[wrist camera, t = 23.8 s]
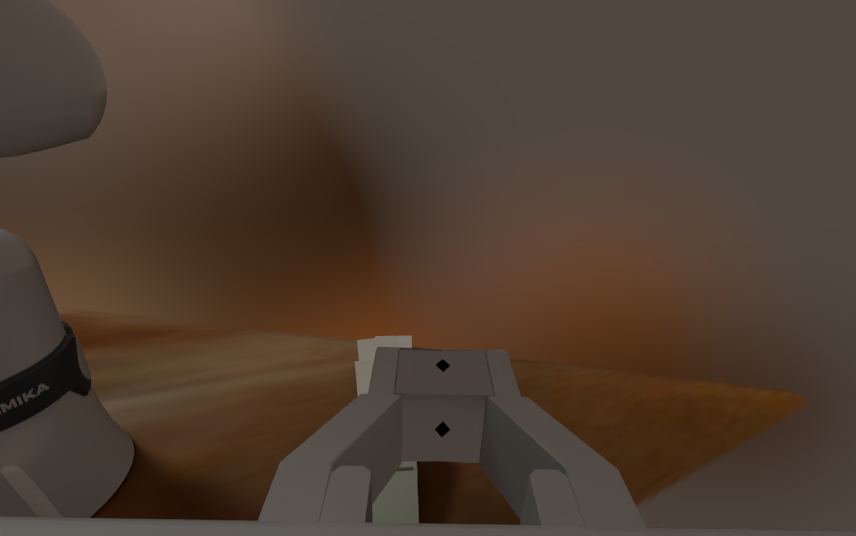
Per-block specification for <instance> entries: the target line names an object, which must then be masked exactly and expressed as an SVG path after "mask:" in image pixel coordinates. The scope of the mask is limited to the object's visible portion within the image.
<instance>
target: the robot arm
mask: <svg viewBox="0 0 856 536" xmlns="http://www.w3.org/2000/svg"><path fill="white" fill-rule="evenodd" d="M106 100H107V86H106V80H105V76H104V72H103V69H102V66H101V63H100V61H99V58H98V56H97V54H96V52H95V50H94V49H93V47H92V45H91V44H90V42H89V41H88V39H87V38H86V37H85V35H84V34H83V33H82V31H81V30H80V29H79V28H78V27H77V26H76V24H74V22H73V21H72V20H71V19H70V18H69V17H68V16H67V15H66V14H65V13H64V12H63V11H62V10H60V9H59V8H58V7H57V6H55V5H54V4H53V3H51V2H50V1H49V0H0V158H4V157H17V156H21V155H26V154H30V153H34V152H38V151H43V150H47V149H51V148H55V147H58V146H62V145H66V144H70V143H73V142H77V141H81V140H84V139H87V138H89V137H90V136H91V135H92V134H93V133H94V131H95V130H96V128H97V127H98V125H99V124H100V122H101V119H102V117H103V115H104V111H105V107H106ZM133 457H134V445H133V442H132V439H131V438H130V436H129V435H128V434H127V433H126V432H125V431H124V430H123V429H122V428H120V426H119V425H118V424H117V423H116V422H115V421H114V420H113V419H112V418H111V416H110V415H109V414H108V412H107V411H106V410H105V408H104V407H103V405H102V404H101V402H100V401H99V399H98V398H97V396H96V394H95V393H94V391H93V389H92V387H91V373H90V370H89V367H88V364H87V361H86V359H85V356H84V353H83V351H82V348H81V346H80V343H79V341H78V339H77V338H75V336H74V333H73V331H72V329H71V327H70V326H69V325H68V324H67V323H65V322H64V321H61V319H60V316H59V314H58V311H57V309H56V306H55V303H54V301H53V298H52V296H51V293H50V291H49V288H48V286H47V283H46V281H45V278H44V275H43V273H42V270H41V268H40V265H39V263H38V260H37V257H36V256H35V253H34V252H33V251H32V249H31V248H30V247H29V246H28V245H27V244H26V243H25V242H24V241H22V240H21V239H20V238H18V237H17V236H15V235H13V234H12V233H10V232H8V231H6V230H4V229H1V228H0V536H856V531H848V530H847V531H846V530H789V529H787V530H786V529H726V528H661V527H659V528H658V527H646V526H645V524H644V522H643V520H642V518H641V516H640V514H639V512H638V510H637V508H636V506H635V504H634V501H633V499H632V497H631V495H630V493H629V491H628V489H627V487H626V485H625V483H624V481H623V479H622V477H621V475H620V473H619V471H618V469H617V468H615V467H614V466H613V465H612V464H610V463H609V462H608V461H607V460H605V459H604V458H603V457H602V456H600V455H599V454H598V453H597V452H595V451H594V450H593V449H592V448H590V447H589V446H588V445H587V444H585V443H584V442H583V441H582V440H580V439H579V438H578V437H577V436H575V435H574V434H573V433H572V432H570V431H569V430H568V429H567V428H565V427H564V426H563V425H562V424H560V423H559V422H558V421H557V420H555V419H554V418H553V417H552V416H550V415H549V414H548V413H547V412H545V411H544V410H543V409H542V408H540V407H539V406H538V405H537V404H535V403H534V402H533V401H532V400H530V399H529V398H528V397H521V395H520V392H519V389H518V385H517V382H516V379H515V375H514V372H513V369H512V366H511V362H510V359H509V356H508V352H507V351H506V350H442V349H425V348H402V347H400V348H398V347H377V349H376V352H375V358H374V363H373V368H372V374H371V379H370V385H369V390H368V394H360V395H359V396H358V397H357V398H356V399H354V400H353V401H352V402H351V403H350V404H349V405H347V406H346V407H345V408H344V409H343V410H341V411H340V412H339V413H338V414H337V415H336V416H334V417H333V418H332V419H331V420H330V421H328V422H327V423H326V424H325V425H324V426H322V427H321V428H320V429H319V430H318V431H317V432H315V433H314V434H313V435H312V436H311V437H309V438H308V439H307V440H306V441H305V442H304V443H302V444H301V445H300V446H299V447H298V448H296V449H295V450H294V451H293V452H292V453H291V454H289V455H288V456H287V457H286V458H285V459H283V460H282V461H281V462H280V464H279V467H278V469H277V472H276V474H275V477H274V480H273V482H272V485H271V487H270V490H269V493H268V495H267V498H266V500H265V503H264V506H263V508H262V511H261V513H260V516H259V519H258V521H244V520H183V519H122V518H90V517H91V516H92V515H93V514H94V513H95V512H97V511H98V510H99V509H100V508H101V507H102V506H103V505H104V504H105V503H106V502H107V501H108V500H109V499H110V497H111V496H112V495H113V494H114V493H115V492H116V490H117V489H118V488H119V486H120V485H121V484H122V482H123V480H124V479H125V477H126V476H127V474H128V472H129V470H130V467H131V465H132V461H133ZM440 460H441V461H448V462H469V463H480V466H481V467H482V469H483V470H484V471H485V473H486V474H487V475H488V477H489V478H490V479H491V481H492V482H493V483H494V485H495V486H496V488H497V489H498V490H499V492H500V493H501V494H502V496H503V497H504V498H505V500H506V501H507V502H508V504H509V505H510V506H511V508H512V509H513V510H514V512H515V513H516V514H517V516H518V517H519V518H520V520H521V521H520V525H490V524H428V523H373V515H372V505H373V503H374V502H375V500H376V499H377V498H378V496H379V495H380V493H381V492H382V490H383V489H384V488H385V486H386V485H387V483H388V482H389V481H390V479H391V478H392V476H393V475H394V474H395V472H396V471H397V469H398V468H399V466H400V465H401V461H440Z"/></svg>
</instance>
